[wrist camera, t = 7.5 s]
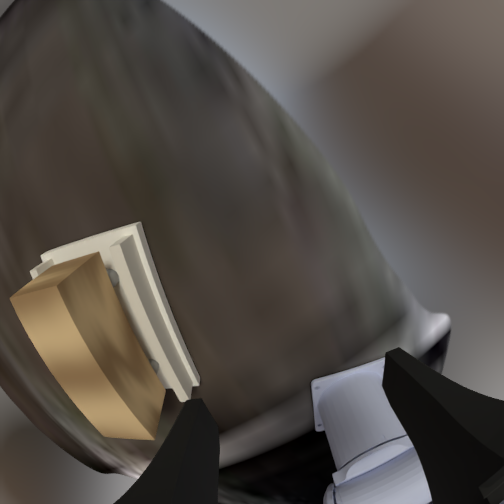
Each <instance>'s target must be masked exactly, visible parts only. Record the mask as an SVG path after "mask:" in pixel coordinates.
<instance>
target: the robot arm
mask: <svg viewBox="0 0 504 504" xmlns="http://www.w3.org/2000/svg"><path fill="white" fill-rule="evenodd" d="M317 386H318V387H317ZM311 390H312V400H313V410H314V421H315V429H316V431H323V430H325V432H326V435H327V438H328V442H329V445H330V448H331V451H332V455H333V458H334V461H335V465H336V468H337V472H335V473H333V474H332V476H333V480H334V483H331V484H330V485H329V486H328V487H327V490H326V492H325V494H324V500H323V502H324V504H504V401H503V400H499V399H495V398H492V397H488V396H485V395H483V394H480V393H477V392H475V391H473V390H470V389H467V388H465V387H463V386H461V385H459V384H458V383H456V382H453V381H452V380H450V379H448V378H446V377H445V376H443V375H441V374H440V373H438V372H436V371H435V370H433V369H431V368H430V367H428V366H427V365H425V364H424V363H422V362H420V361H419V360H417V359H416V358H414V357H413V356H411V355H410V354H408V353H407V352H405V351H404V350H402V349H401V348H399V347H398V348H396V349H393V350H391V351H388V352H386V354H385V357H384V358H381V359H378V360H375V361H373V362H370V363H367V364H364V365H361V366H358V367H355V368H352V369H349V370H345V371H342V372H339V373H335V374H332V375H328V376H325V377H321V378H318V379H314V380H313V381H312V382H311ZM219 454H220V444H219V431H218V425H217V424H216V422H215V420H214V419H213V417H212V415H211V414H210V412H209V410H208V409H207V407H206V405H205V404H204V402H203V400H202V398H200V399H191V400H186V402H185V403H184V405H183V407H182V409H181V411H180V413H179V415H178V417H177V419H176V421H175V423H174V425H173V427H172V428H171V430H170V432H169V434H168V436H167V437H166V439H165V441H164V443H163V444H162V446H161V448H160V449H159V451H158V452H157V454H156V455H155V457H154V458H153V460H152V461H151V463H150V464H149V466H148V467H147V468H146V470H145V471H144V472H143V474H142V475H141V476H140V477H139V479H138V480H137V481H136V482H135V483H134V484H133V485H132V486H131V488H130V489H129V490H128V491H127V492H126V493H125V494H124V495H123V496H122V497H121V498H120V499H118V500H117V501H116V502H115V503H114V504H218V473H219Z"/></svg>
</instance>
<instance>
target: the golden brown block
mask: <svg viewBox="0 0 504 504" xmlns="http://www.w3.org/2000/svg"><path fill="white" fill-rule="evenodd" d="M10 300H11V303H12V305H13V307H14V309H15V311H16V313H17V315H18V317H19V319H20V321H21V323H22V325H23V327H24V328H25V330H26V332H27V334H28V336H29V337H30V339H31V341H32V343H33V344H34V346H35V348H36V349H37V351H38V353H39V354H40V356H41V357H42V359H43V360H44V362H45V364H46V365H47V367H48V368H49V370H50V371H51V372H52V374H53V375H54V377H55V378H56V380H57V381H58V382H59V384H60V385H61V386H62V388H63V389H64V390H65V392H66V393H67V394H68V396H69V397H70V398H71V399H72V401H73V402H74V403H75V404H76V406H77V407H78V408H79V409H80V410H81V412H82V413H83V414H84V415H85V416H86V417H87V419H88V420H89V421H90V422H91V423H92V424H93V425H94V426H95V427H96V428H97V429H98V431H99V432H100V433H101V434H102V435H103V436H105V437H114V438H126V439H145V440H155V437H156V432H157V428H158V423H159V418H160V414H161V410H162V405H163V401H164V397H165V392H166V390H165V388H164V387H163V385H162V383H161V382H160V380H159V378H158V377H157V375H156V373H155V371H154V370H153V368H152V366H151V364H150V363H149V361H148V359H147V357H146V355H145V353H144V352H143V350H142V348H141V346H140V344H139V342H138V340H137V338H136V336H135V334H134V332H133V330H132V328H131V326H130V324H129V322H128V320H127V318H126V316H125V313H124V311H123V309H122V307H121V305H120V302H119V300H118V298H117V295H116V293H115V291H114V288H113V286H112V284H111V281H110V279H109V276H108V274H107V271H106V268H105V266H104V263H103V260H102V258H101V255H100V252H99V251H98V252H95V253H92V254H88V255H85V256H82V257H78V258H75V259H72V260H69V261H65V262H62V263H59V264H56V265H53V266H51V267H50V268H48V269H47V270H45V271H44V272H43V273H41V274H40V275H39V276H37V277H36V278H35V279H33V280H32V281H31V282H29V283H28V284H27V285H25V286H24V287H23V288H22V289H20V290H19V291H18V292H16V293H15V294H14V295H13V296H12V297H10Z"/></svg>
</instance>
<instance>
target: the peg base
mask: <svg viewBox="0 0 504 504" xmlns="http://www.w3.org/2000/svg"><path fill="white" fill-rule="evenodd" d="M98 251H99V252H100V255H101V258H102V260H103V263H104V266H105V268H106V271H107V274H108V276H109V279H110V281H111V284H112V286H113V288H114V291H115V293H116V295H117V298H118V300H119V302H120V305H121V307H122V309H123V311H124V313H125V316H126V318H127V320H128V322H129V324H130V326H131V328H132V330H133V332H134V334H135V336H136V338H137V340H138V342H139V344H140V346H141V348H142V350H143V352H144V353H145V355H146V357H147V359H148V361H149V363H150V364H151V366H152V368H153V370H154V371H155V373H156V375H157V377H158V378H159V380H160V382H161V383H162V385H163V387H164V388H165V389H169V388H173V390H174V392H175V393H176V395H177V397H178V398H179V400H180V402H186V400H190V399H191V392H192V386H199V384H200V376H199V374H198V372H197V370H196V368H195V365H194V363H193V361H192V359H191V357H190V354H189V352H188V350H187V347H186V345H185V343H184V341H183V338H182V336H181V333H180V331H179V329H178V326H177V324H176V321H175V319H174V316H173V314H172V311H171V309H170V306H169V304H168V301H167V298H166V296H165V293H164V290H163V287H162V285H161V282H160V279H159V276H158V273H157V271H156V268H155V265H154V262H153V259H152V256H151V253H150V250H149V246H148V243H147V240H146V237H145V234H144V230H143V227H142V224H141V222H137V223H134V224H130V225H127V226H123V227H120V228H117V229H113V230H110V231H107V232H104V233H100V234H97V235H94V236H91V237H88V238H85V239H82V240H79V241H76V242H73V243H70V244H67V245H64V246H61V247H58V248H55V249H52V250H49V251H47V252H45V253H44V254H42V255H40V256H41V258H42V261H43V263H41V264H40V265H38V266H37V267H35V268H34V269H32V270H31V271H30V273H31V276H32V278H33V279H35V278H36V277H37V276H39V275H40V274H41V273H43V272H44V271H45V270H47V269H48V268H50V267H51V266H53V265H56V264H59V263H62V262H65V261H69V260H72V259H75V258H78V257H82V256H85V255H88V254H92V253H95V252H98Z"/></svg>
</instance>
